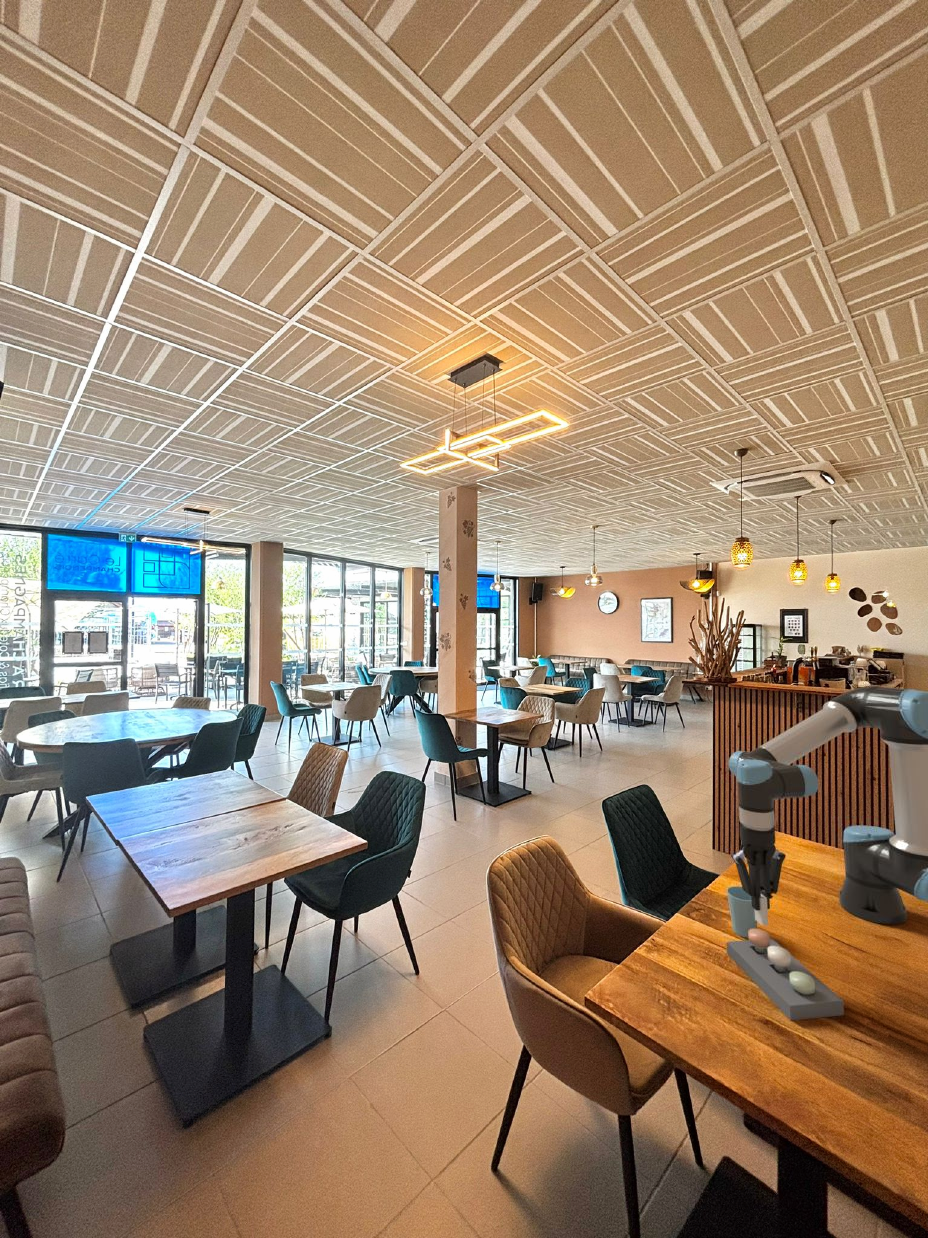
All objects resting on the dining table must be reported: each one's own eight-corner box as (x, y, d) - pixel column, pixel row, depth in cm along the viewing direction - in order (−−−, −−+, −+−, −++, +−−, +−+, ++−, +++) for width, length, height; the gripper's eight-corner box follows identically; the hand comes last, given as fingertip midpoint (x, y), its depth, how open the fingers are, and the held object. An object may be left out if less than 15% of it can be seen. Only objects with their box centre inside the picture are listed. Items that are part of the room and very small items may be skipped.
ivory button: (782, 962, 120) (781, 945, 120) (796, 975, 115) (795, 957, 115) (763, 964, 119) (762, 946, 119) (777, 977, 115) (776, 959, 115)
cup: (767, 936, 134) (765, 896, 135) (748, 944, 131) (746, 903, 132) (741, 921, 141) (740, 883, 142) (722, 929, 138) (720, 890, 139)
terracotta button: (762, 944, 127) (761, 928, 127) (775, 955, 122) (774, 939, 122) (744, 945, 126) (744, 929, 126) (757, 957, 122) (756, 940, 122)
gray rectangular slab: (771, 950, 129) (771, 938, 129) (844, 1015, 107) (843, 1000, 107) (727, 954, 128) (726, 942, 128) (790, 1020, 106) (789, 1006, 106)
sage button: (804, 988, 113) (803, 970, 113) (821, 1004, 108) (820, 985, 108) (785, 990, 112) (784, 972, 112) (800, 1006, 108) (799, 986, 108)
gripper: (770, 817, 129) (775, 911, 128) (722, 821, 127) (727, 916, 127) (792, 829, 121) (797, 928, 120) (741, 833, 120) (746, 934, 119)
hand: (761, 922), depth 124 cm, fingers closed
